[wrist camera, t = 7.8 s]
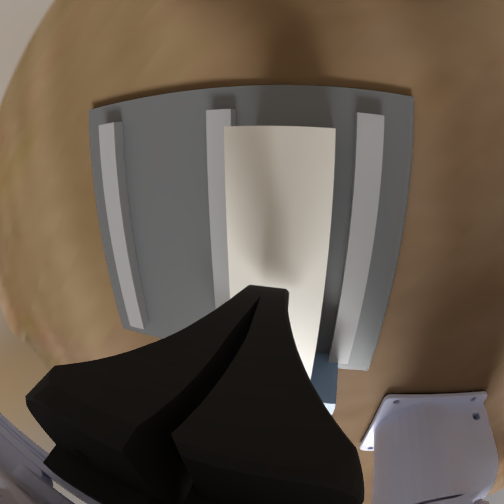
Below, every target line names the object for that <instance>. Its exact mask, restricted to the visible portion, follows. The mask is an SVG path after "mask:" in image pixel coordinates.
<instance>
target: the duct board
mask: <svg viewBox="0 0 504 504" xmlns="http://www.w3.org/2000/svg"><path fill="white" fill-rule="evenodd" d="M224 126H302V127H322V128H336V135H335V165H334V186H333V202H332V216H331V228H330V240H329V250H328V260H327V270H326V279H325V287H324V295H323V303H322V310H321V318H320V325H319V331H318V338H317V344H316V351H315V357H314V363H313V368H312V374H311V382H312V384H313V386H314V388H315V389H316V391H317V393H318V395H319V396H320V398H321V400H322V402H323V403H324V405H325V407H326V408H327V410H328V411H329V413H330V414H331V415H332V414H333V411H334V408H335V404H336V391H337V374H338V368H342V369H354V370H368V369H369V366H370V363H371V360H372V357H373V353H374V350H375V347H376V344H377V341H378V337H379V334H380V330H381V327H382V323H383V320H384V316H385V312H386V309H387V305H388V301H389V297H390V293H391V288H392V284H393V280H394V275H395V271H396V266H397V261H398V256H399V251H400V245H401V240H402V234H403V228H404V222H405V215H406V208H407V200H408V192H409V183H410V173H411V162H412V148H413V127H414V97H412V96H407V95H401V94H394V93H388V92H381V91H373V90H365V89H355V88H344V87H331V86H312V85H251V86H232V87H219V88H208V89H198V90H189V91H181V92H174V93H167V94H161V95H155V96H149V97H144V98H139V99H133V100H129V101H124V102H119V103H115V104H111V105H106V106H102V107H98V108H94V109H91V110H89V132H90V148H91V161H92V172H93V181H94V190H95V198H96V205H97V212H98V218H99V224H100V230H101V236H102V242H103V247H104V252H105V257H106V262H107V266H108V271H109V275H110V280H111V284H112V288H113V292H114V296H115V300H116V304H117V308H118V311H119V315H120V319H121V322H122V326H123V328H125V329H129V330H132V331H136V332H139V333H143V334H147V335H151V336H155V337H159V338H163V339H164V338H166V337H168V336H170V335H172V334H174V333H176V332H178V331H180V330H182V329H184V328H186V327H188V326H190V325H191V324H193V323H194V322H196V321H198V320H199V319H201V318H203V317H204V316H206V315H207V314H209V313H211V312H212V311H214V310H215V309H217V308H218V307H220V306H221V305H222V304H224V303H225V302H227V301H228V300H229V299H230V288H229V268H228V246H227V222H226V194H225V159H224Z"/></svg>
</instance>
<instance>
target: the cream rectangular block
mask: <svg viewBox="0 0 504 504" xmlns="http://www.w3.org/2000/svg"><path fill="white" fill-rule="evenodd" d="M335 135H336V128H322V127H302V126H224V159H225V194H226V222H227V246H228V268H229V288H230V299H231V298H232V297H233V296H235V295H236V294H237V293H239V292H240V291H241V290H243V289H244V288H245V287H247V286H248V285H258V286H266V287H275V288H283V289H287V290H288V291H289V305H288V314H289V320H290V325H291V329H292V333H293V337H294V340H295V343H296V347H297V350H298V352H299V355H300V358H301V360H302V363H303V365H304V367H305V370H306V372H307V374H308V376H309V378H310V380H311V374H312V368H313V363H314V357H315V351H316V344H317V338H318V331H319V325H320V318H321V310H322V303H323V295H324V287H325V279H326V270H327V260H328V250H329V240H330V228H331V216H332V202H333V186H334V165H335Z"/></svg>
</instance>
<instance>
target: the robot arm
mask: <svg viewBox="0 0 504 504" xmlns="http://www.w3.org/2000/svg"><path fill="white" fill-rule="evenodd" d="M288 305H289V291H288V290H287V289H283V288H275V287H266V286H258V285H248V286H247V287H245V288H244V289H243V290H241V291H240V292H239V293H237V294H236V295H235V296H233V297H232V298H231V299H229V300H228V301H227V302H225V303H224V304H222V305H221V306H220V307H218V308H217V309H215V310H214V311H212V312H211V313H209V314H207V315H206V316H204V317H203V318H201V319H199V320H198V321H196V322H194V323H193V324H191V325H190V326H188V327H186V328H184V329H182V330H180V331H178V332H176V333H174V334H172V335H170V336H168V337H166V338H164V339H161V340H159V341H156V342H154V343H151V344H148V345H146V346H143V347H140V348H137V349H135V350H132V351H129V352H126V353H122V354H118V355H115V356H111V357H107V358H103V359H98V360H93V361H88V362H81V363H74V364H67V365H58V366H54V367H53V368H52V369H51V370H50V371H49V372H48V373H47V374H46V375H45V376H44V377H43V379H42V380H41V381H40V382H39V383H38V384H37V385H36V386H35V387H34V388H33V389H32V390H31V391H30V392H29V393H28V394H27V395H26V396H25V397H26V405H27V407H28V409H29V411H30V412H31V414H32V415H33V416H34V418H35V419H36V420H37V422H38V423H39V424H40V426H41V427H42V428H43V429H44V431H45V432H46V433H47V434H48V435H49V437H50V438H51V439H52V440H53V441H54V442H55V444H56V446H55V447H54V449H53V450H52V451H51V452H50V454H49V453H47V452H46V451H45V450H43V449H42V448H41V447H39V446H38V445H37V444H36V443H34V442H33V441H32V440H31V439H29V438H28V437H27V436H26V435H25V434H23V433H22V432H21V431H20V430H19V429H18V428H16V427H15V426H14V425H13V424H12V423H11V422H10V421H9V420H7V419H6V418H5V417H4V416H3V415H2V414H1V413H0V504H74V503H73V502H71V501H70V500H69V499H67V498H66V497H65V496H63V495H62V494H61V493H59V492H58V491H57V490H55V489H54V488H53V482H52V480H53V481H55V482H56V483H57V484H59V485H60V486H61V487H63V488H64V489H66V490H67V491H69V492H70V493H72V494H73V495H75V496H76V497H78V498H79V499H81V500H82V501H84V502H85V503H87V504H362V503H363V501H364V481H363V473H362V468H361V464H360V460H359V456H358V452H357V449H356V447H355V446H354V445H353V443H352V442H351V441H350V440H349V439H348V437H347V436H346V435H345V434H344V432H343V431H342V430H341V428H340V427H339V426H338V424H337V423H336V422H335V420H334V419H333V417H332V416H331V414H330V413H329V411H328V410H327V408H326V407H325V405H324V403H323V402H322V400H321V398H320V396H319V395H318V393H317V391H316V389H315V388H314V386H313V384H312V382H311V380H310V378H309V376H308V374H307V372H306V370H305V367H304V365H303V363H302V360H301V358H300V355H299V352H298V350H297V347H296V343H295V340H294V337H293V333H292V329H291V325H290V320H289V314H288ZM486 398H487V392H486V391H480V392H468V393H452V394H389V395H387V396H385V397H384V399H383V401H382V403H381V405H380V407H379V409H378V411H377V413H376V415H375V417H374V419H373V421H372V423H371V425H370V427H369V429H368V431H367V433H366V434H365V436H364V438H363V440H362V442H361V444H360V449H361V450H374V466H373V490H372V504H489V502H487V501H483V498H485V497H486V496H487V494H488V493H489V492H490V490H491V489H492V487H493V485H494V483H495V480H496V477H497V472H498V453H497V449H496V445H495V441H494V437H493V433H492V429H491V426H490V422H489V419H488V416H487V412H486V409H485V406H484V403H483V402H484V401H485V399H486ZM51 479H52V480H51Z"/></svg>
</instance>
